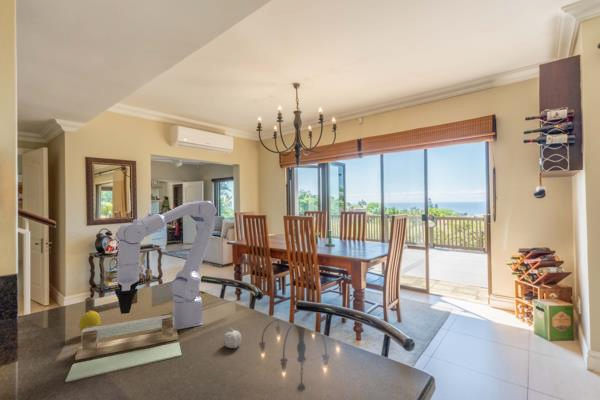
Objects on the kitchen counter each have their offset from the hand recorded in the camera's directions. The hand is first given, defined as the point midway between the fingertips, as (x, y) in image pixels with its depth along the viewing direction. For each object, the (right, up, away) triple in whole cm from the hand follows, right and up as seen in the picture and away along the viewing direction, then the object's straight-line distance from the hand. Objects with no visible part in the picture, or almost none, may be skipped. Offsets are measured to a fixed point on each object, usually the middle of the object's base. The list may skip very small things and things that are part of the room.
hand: (126, 309), depth 88 cm
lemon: (-16, -11, +7) cm, 20 cm away
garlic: (+32, -11, 0) cm, 34 cm away
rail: (+1, -7, +1) cm, 7 cm away
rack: (+1, -11, +1) cm, 11 cm away
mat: (+6, -11, -8) cm, 15 cm away
